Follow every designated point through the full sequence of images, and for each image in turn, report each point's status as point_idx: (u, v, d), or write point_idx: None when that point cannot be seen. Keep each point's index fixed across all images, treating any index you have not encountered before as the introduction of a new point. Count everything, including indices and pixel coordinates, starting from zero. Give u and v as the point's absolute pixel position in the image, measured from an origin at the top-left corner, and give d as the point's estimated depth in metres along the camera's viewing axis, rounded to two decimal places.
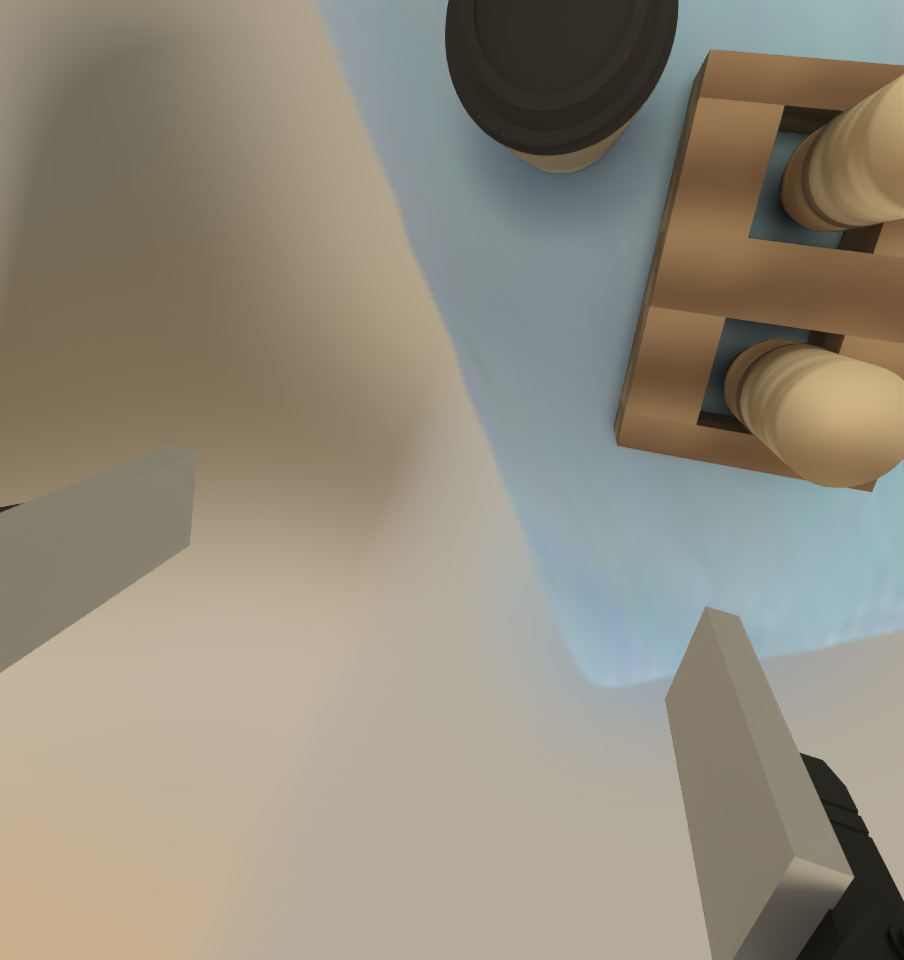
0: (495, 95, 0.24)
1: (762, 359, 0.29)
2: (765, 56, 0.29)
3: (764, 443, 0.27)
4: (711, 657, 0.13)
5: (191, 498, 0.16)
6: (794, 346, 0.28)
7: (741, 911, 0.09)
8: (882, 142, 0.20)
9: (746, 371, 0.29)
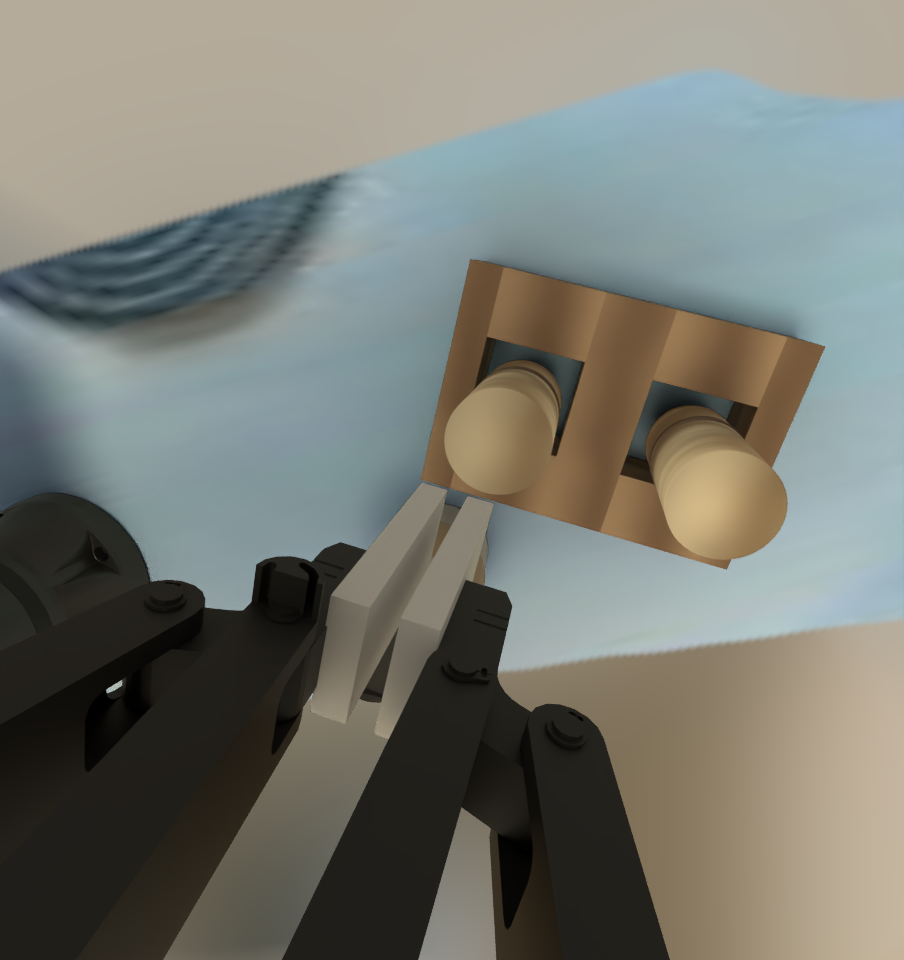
0: None
1: None
2: (430, 443, 0.39)
3: None
4: None
5: (435, 531, 0.17)
6: (651, 466, 0.32)
7: None
8: (498, 487, 0.28)
9: None
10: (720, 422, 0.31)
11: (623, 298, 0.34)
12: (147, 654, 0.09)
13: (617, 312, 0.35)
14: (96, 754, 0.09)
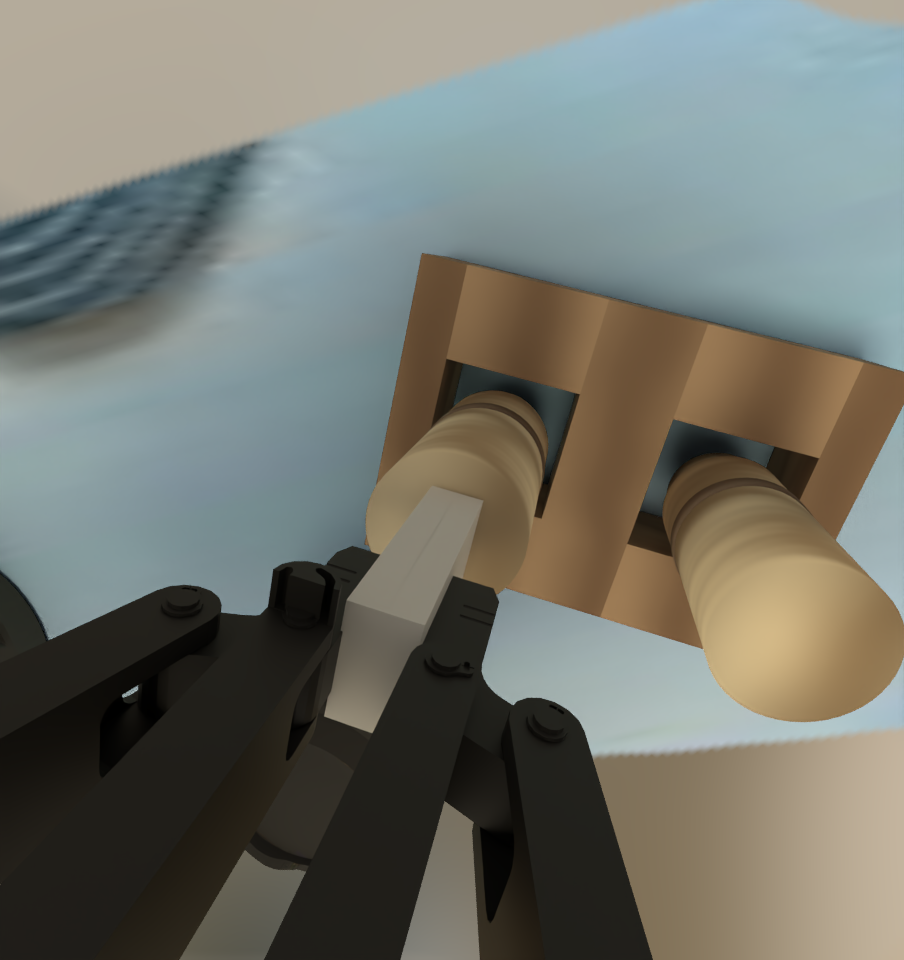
0: None
1: None
2: None
3: None
4: None
5: None
6: (674, 548, 0.22)
7: None
8: None
9: None
10: (776, 489, 0.21)
11: (632, 307, 0.25)
12: (163, 660, 0.09)
13: (624, 327, 0.25)
14: (111, 759, 0.09)
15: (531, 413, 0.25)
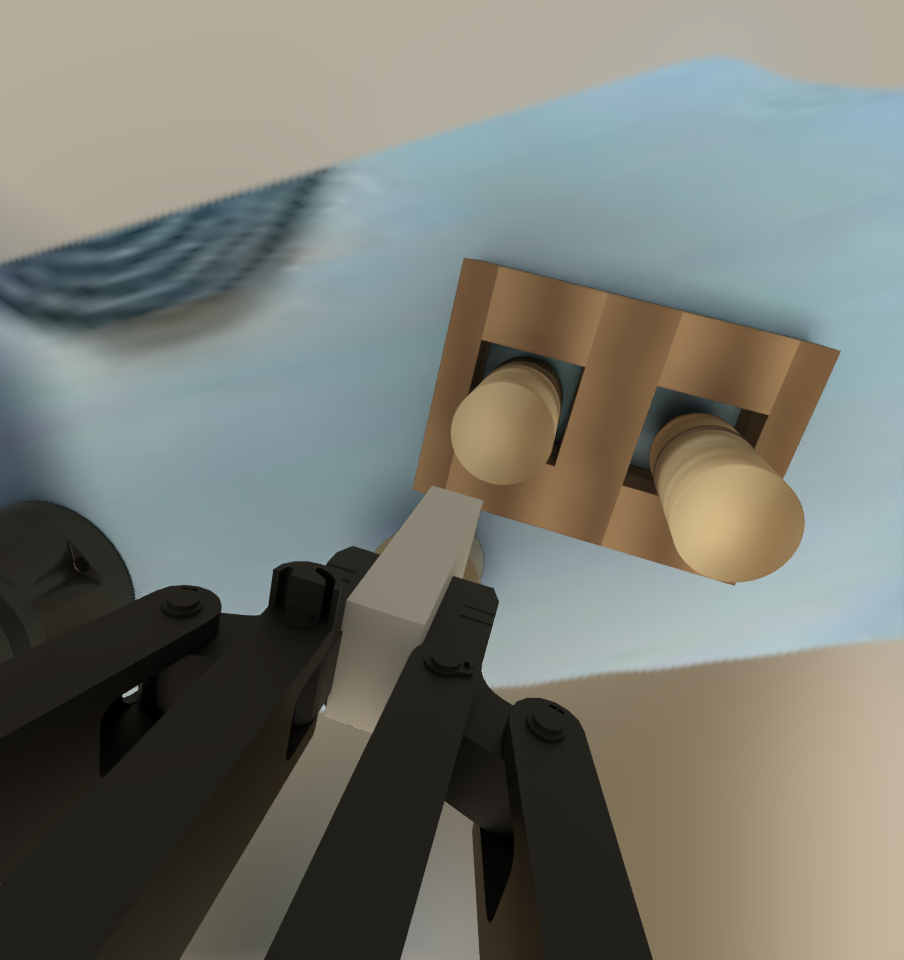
0: None
1: None
2: (422, 452, 0.37)
3: None
4: None
5: None
6: (655, 478, 0.30)
7: None
8: (502, 477, 0.29)
9: None
10: (729, 432, 0.29)
11: (626, 299, 0.32)
12: (163, 660, 0.09)
13: (619, 314, 0.33)
14: (111, 759, 0.09)
15: (551, 372, 0.36)
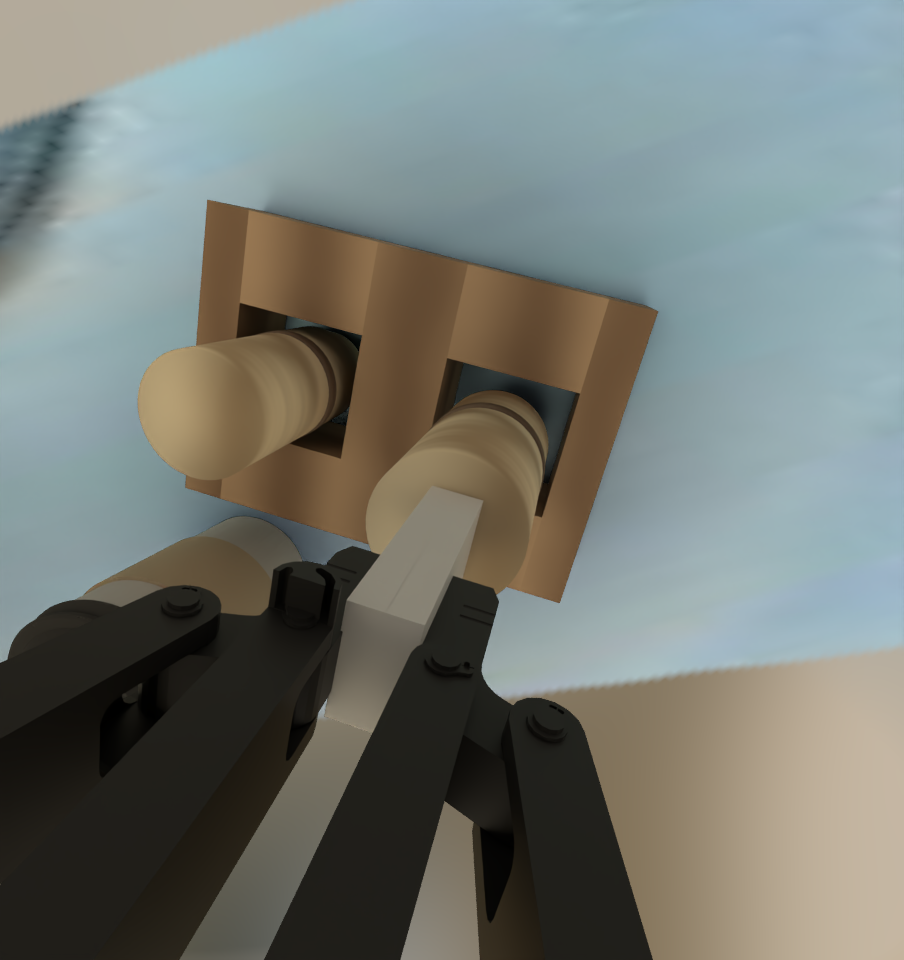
0: None
1: None
2: None
3: None
4: None
5: None
6: None
7: None
8: (207, 471, 0.23)
9: None
10: (498, 410, 0.23)
11: (400, 249, 0.26)
12: (163, 660, 0.09)
13: (394, 268, 0.26)
14: (111, 759, 0.09)
15: (334, 343, 0.29)
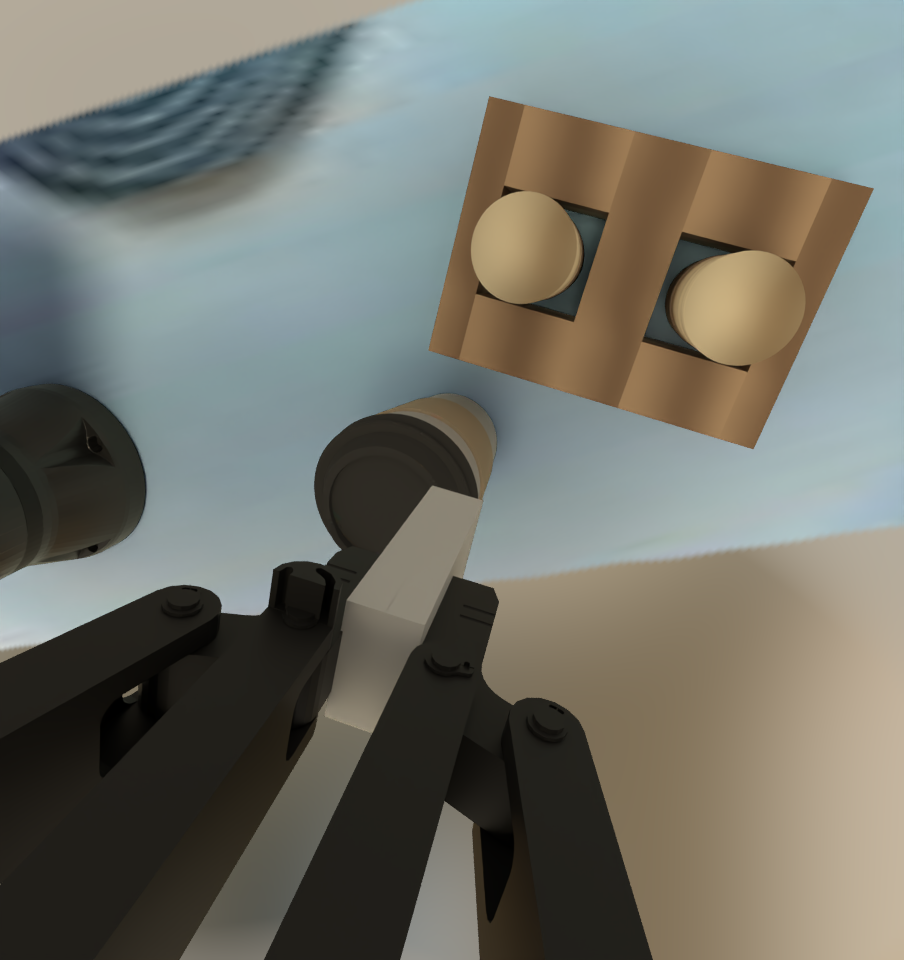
0: None
1: (677, 331, 0.33)
2: (439, 309, 0.37)
3: None
4: None
5: None
6: (671, 306, 0.33)
7: None
8: (521, 296, 0.28)
9: None
10: None
11: (653, 137, 0.32)
12: (163, 660, 0.09)
13: (646, 154, 0.32)
14: (111, 759, 0.09)
15: None
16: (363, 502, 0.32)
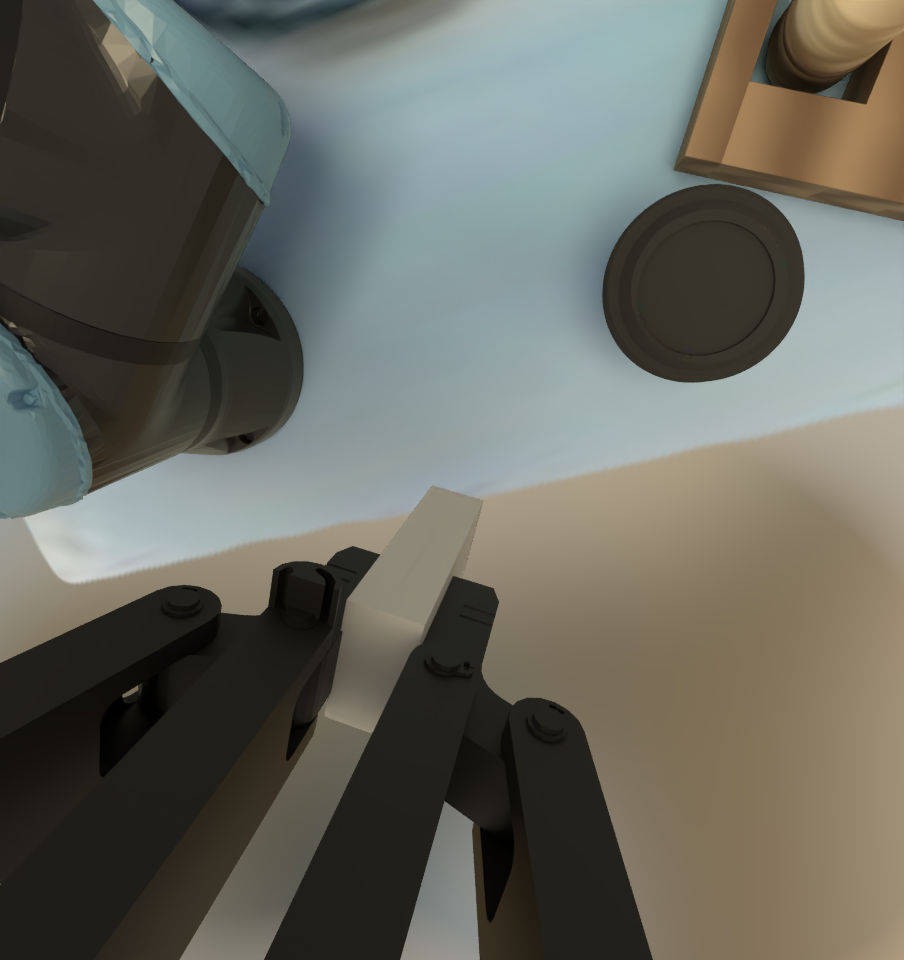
0: (758, 343, 0.28)
1: None
2: (703, 104, 0.33)
3: None
4: None
5: None
6: None
7: None
8: (893, 15, 0.25)
9: None
10: None
11: None
12: (163, 660, 0.09)
13: None
14: (111, 759, 0.09)
15: None
16: (678, 286, 0.28)
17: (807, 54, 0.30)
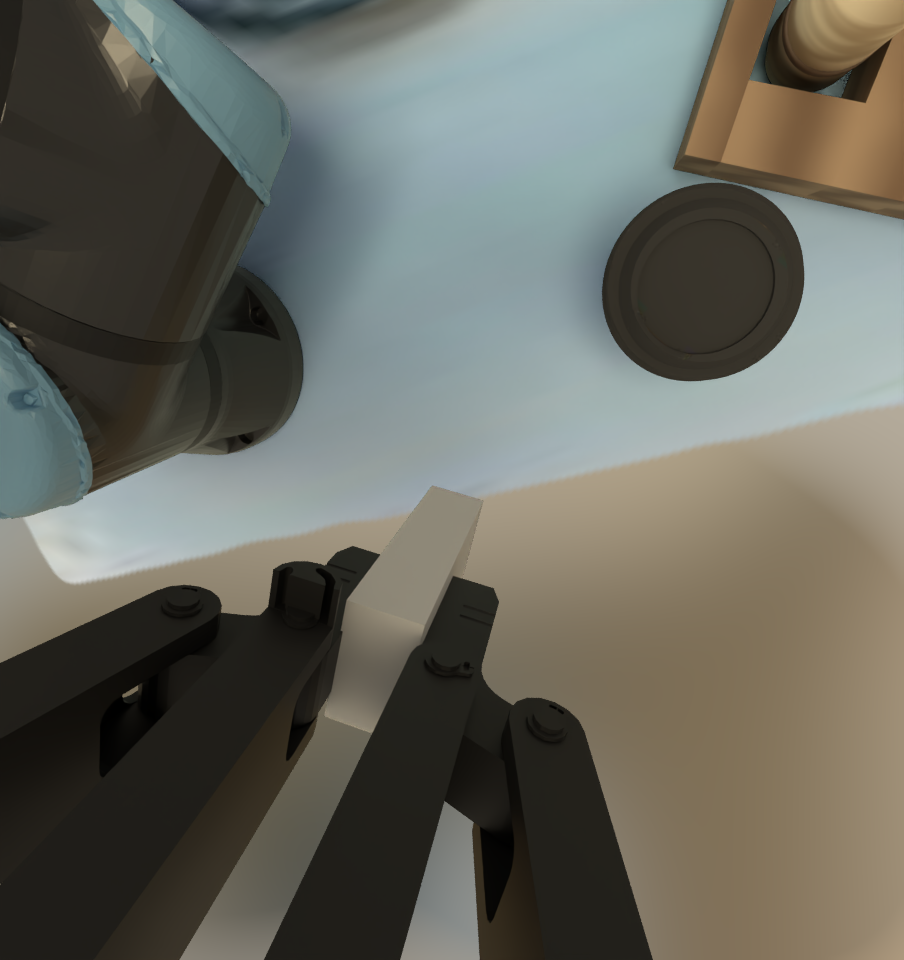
0: (758, 341, 0.28)
1: None
2: (703, 103, 0.33)
3: None
4: None
5: None
6: None
7: None
8: (892, 13, 0.25)
9: None
10: None
11: None
12: (163, 660, 0.09)
13: None
14: (111, 759, 0.09)
15: None
16: (678, 284, 0.28)
17: (806, 52, 0.30)
